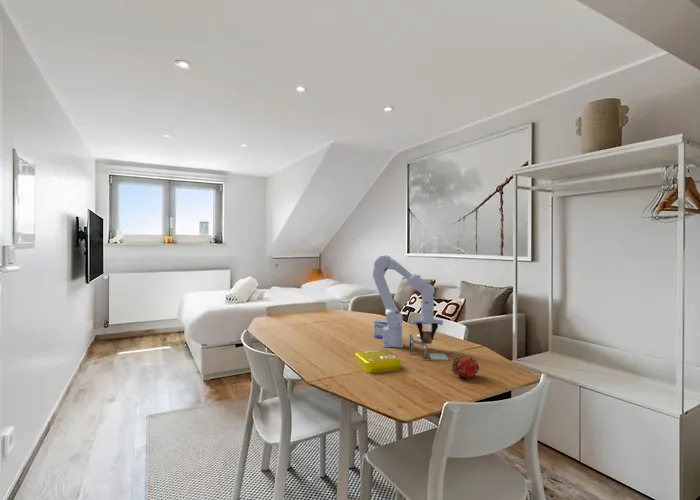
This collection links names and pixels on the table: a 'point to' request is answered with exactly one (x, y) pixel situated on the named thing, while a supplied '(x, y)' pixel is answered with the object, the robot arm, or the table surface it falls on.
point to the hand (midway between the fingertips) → (426, 339)
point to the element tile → (377, 361)
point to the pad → (438, 356)
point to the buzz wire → (419, 344)
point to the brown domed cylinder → (426, 337)
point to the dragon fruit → (465, 367)
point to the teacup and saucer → (419, 334)
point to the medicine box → (379, 328)
